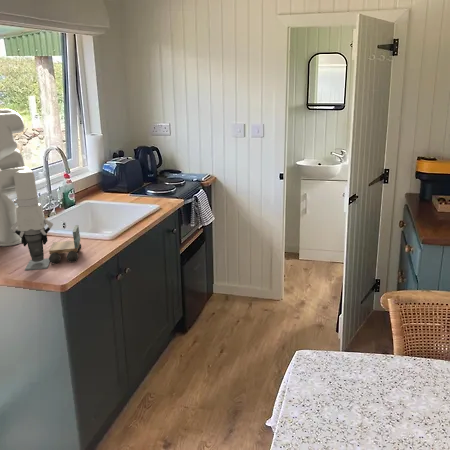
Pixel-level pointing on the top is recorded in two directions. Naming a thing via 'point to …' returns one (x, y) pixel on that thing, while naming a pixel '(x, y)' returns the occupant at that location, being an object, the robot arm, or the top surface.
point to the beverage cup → (35, 244)
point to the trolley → (66, 248)
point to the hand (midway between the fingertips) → (35, 244)
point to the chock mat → (38, 264)
